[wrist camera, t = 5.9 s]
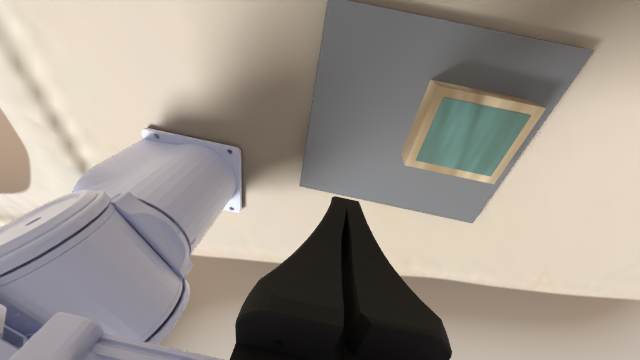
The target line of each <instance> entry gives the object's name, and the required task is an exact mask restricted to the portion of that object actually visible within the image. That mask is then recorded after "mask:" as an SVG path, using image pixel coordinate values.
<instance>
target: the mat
mask: <svg viewBox="0 0 640 360" xmlns="http://www.w3.org/2000/svg"><path fill="white" fill-rule="evenodd" d="M593 52H594V50H589V49H584V48H579V47H575V46H570V45H565V44H560V43H555V42H550V41H545V40H540V39H535V38H530V37H526V36H521V35H516V34H511V33H506V32H501V31H496V30H491V29H486V28H481V27H477V26H472V25H467V24H462V23H457V22H452V21H447V20H442V19H437V18H432V17H428V16H423V15H418V14H413V13H408V12H403V11H398V10H393V9H388V8H383V7H378V6H374V5H369V4H364V3H359V2H354V1H349V0H328V2H327V9H326V16H325V22H324V29H323V35H322V42H321V48H320V55H319V62H318V68H317V75H316V81H315V88H314V95H313V101H312V108H311V114H310V121H309V127H308V134H307V141H306V147H305V154H304V160H303V167H302V174H301V180H300V186H301V187H306V188H310V189H315V190H320V191H324V192H329V193H334V194H338V195H343V196H348V197H352V198H357V199H362V200H366V201H371V202H376V203H380V204H385V205H390V206H394V207H399V208H403V209H408V210H413V211H417V212H422V213H427V214H431V215H436V216H441V217H445V218H450V219H455V220H459V221H464V222H469V223H473V222H474V221H475V219H476V218H477V216H478V215H479V214H480V212H481V211H482V209H483V208H484V206H485V205H486V204H487V202H488V201H489V199H490V198H491V196H492V195H493V194H494V192H495V191H496V189H497V188H498V187H499V185H500V184H501V182H502V181H503V179H504V178H505V177H506V175H507V174H508V172H509V171H510V169H511V168H512V167H513V165H514V164H515V162H516V161H517V160H518V158H519V157H520V155H521V154H522V152H523V151H524V150H525V148H526V147H527V145H528V144H529V142H530V141H531V140H532V138H533V137H534V135H535V134H536V133H537V131H538V130H539V128H540V127H541V125H542V124H543V123H544V121H545V120H546V118H547V117H548V115H549V114H550V113H551V111H552V110H553V108H554V107H555V106H556V104H557V103H558V101H559V100H560V98H561V97H562V96H563V94H564V93H565V91H566V90H567V89H568V87H569V86H570V84H571V83H572V81H573V80H574V79H575V77H576V76H577V74H578V73H579V71H580V70H581V69H582V67H583V66H584V64H585V63H586V62H587V60H588V59H589V57H590V56H591V54H592V53H593ZM430 80H435V81H440V82H445V83H449V84H454V85H459V86H464V87H469V88H473V89H478V90H483V91H488V92H493V93H498V94H502V95H507V96H512V97H517V98H522V99H526V100H530V101H532V102H534V103H536V104H538V105H540V106H543V107H545V108H546V110H545V111H544V112H543V114H542V115H541V117H540V118H539V120H538V121H537V123H536V124H535V126H534V127H533V128H532V130H531V131H530V133H529V134H528V136H527V137H526V139H525V140H524V142H523V143H522V144H521V146H520V147H519V149H518V150H517V152H516V153H515V155H514V156H513V158H512V159H511V160H510V162H509V163H508V165H507V166H506V168H505V169H504V171H503V172H502V174H501V175H500V176H499V178H498V179H497V181H496V182H495V184H490V183H486V182H481V181H476V180H471V179H467V178H462V177H457V176H453V175H448V174H443V173H438V172H434V171H429V170H424V169H420V168H415V167H410V166H406V165H405V164H404V161H403V158H402V155H401V153H402V150H403V148H404V145H405V143H406V140H407V138H408V135H409V133H410V130H411V128H412V125H413V123H414V120H415V117H416V115H417V112H418V110H419V107H420V105H421V102H422V100H423V97H424V95H425V92H426V90H427V87H428V85H429V82H430Z"/></svg>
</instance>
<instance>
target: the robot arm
mask: <svg viewBox="0 0 640 360" xmlns="http://www.w3.org/2000/svg"><path fill="white" fill-rule="evenodd" d="M157 134H158V135H159V136H158V135H157ZM142 136H143V139H142V140H141V141H139V142H137V143H135V144H133V145H132V146H130V147H128V148H126V149H124V150H122V151H121V152H119V153H117V154H115V155H113V156H112V157H110V158H108V159H106V160H104V161H103V162H101V163H99V164H97V165H95V166H94V167H92V168H91V169H89V170H88V171H87V172H86V173H85V174H84V175H83V176H82V177H81V178H80V179H79V181H78V182H77V184H76V185H75V187H74V189H73V191H72V193H70V194H68V195H65V196H62V197H60V198H58V199H55V200H53V201H51V202H49V203H46V204H44V205H42V206H40V207H38V208H36V209H34V210H32V211H30V212H28V213H26V214H24V215H22V216H20V217H19V218H17V219H15V220H13V221H11V222H9V223H8V224H6V225H4V226H2V227H1V228H0V360H223V359H218V358H214V357H210V356H205V355H201V354H196V353H192V352H188V351H183V350H178V349H174V348H170V347H166V346H161V345H158V344H159V343H160V342H161V341H162V340H163V339H164V338H165V337H166V336H167V335H168V334H169V333H170V332H171V330H172V329H173V328H174V326H175V325H176V324H177V322H178V321H179V319H180V317H181V315H182V314H183V312H184V310H185V308H186V305H187V303H188V300H189V296H190V287H189V284H188V282H187V281H186V280H185V277H186V276H187V274H188V273H189V271H190V270H191V268H192V267H193V265H192V264H191V262H190V260H189V256H190V255H191V254H192V252H193V251H194V249H195V248H196V247H197V245H198V244H199V242H200V241H201V240H202V238H203V237H204V235H205V234H206V233H207V231H208V230H209V228H210V227H211V226H212V224H213V223H214V221H215V220H216V219H217V217H218V216H219V214H220V213H221V211H222V210H227V211H231V212H236V213H239V212H240V211H241V210H242V168H241V150H240V149H239V148H238V147H235V146H230V145H225V144H221V143H216V142H211V141H206V140H202V139H197V138H192V137H188V136H183V135H178V134H174V133H169V132H164V131H160V130H155V129H150V128H145V129H143V130H142ZM229 150H231V151H232V153H231V152H229ZM232 207H233V208H232ZM235 327H236V344H235V348H234V350H233V353H232V355H231V358H230V360H449V359H450V358H451V355H452V350H451V347H450V343H449V340H448V337H447V334H446V331H445V328H444V326H443V323H442V320H441V319H440V318H439V317H438V316H437V315H436V314H435V313H434V312H433V311H432V310H431V309H430V308H428V306H426V305H425V304H424V303H423V302H422V301H421V300H420V299H419V298H418V297H417V295H416V294H415V293H414V292H413V291H412V290H411V289H410V288H409V287H408V286H407V284H406V283H405V282H404V281H403V280H402V278H401V277H400V276H399V275H398V273H397V272H396V271H395V270H394V268H393V267H392V266H391V264H390V263H389V261H388V260H387V258H386V257H385V255H384V254H383V252H382V251H381V249H380V247H379V245H378V244H377V242H376V240H375V238H374V236H373V234H372V232H371V230H370V228H369V226H368V224H367V222H366V219H365V217H364V214H363V212H362V209H361V206H360V203H359V202H358V201H354V200H349V199H345V198H340V197H333V198H332V200H331V204H330V206H329V209H328V211H327V212H326V214H325V216H324V217H323V219H322V221H321V222H320V224H319V225H318V226H317V228H316V229H315V230H314V232H313V233H312V234H311V235H310V237H309V238H308V239H307V240H306V241H305V242H304V243H303V244H302V245H301V246H300V247H299V248H298V249H297V250H296V251H295V252H294V253H293V254H292V255H291V256H290V257H289V258H288V259H286V260H285V261H284V262H283V263H282V264H280V265H279V266H278V267H277V268H275V269H274V270H272V271H271V272H270V273H268V274H267V275H266V276H264V277H263V278H261V279H260V280H259V281H258V282H257V284H256V285H255V286H254V288H253V289H252V291H251V292H250V293H249V295H248V297H247V298H246V300H245V302H244V304H243V306H242V308H241V310H240V313H239V315H238V318H237V320H236V326H235Z"/></svg>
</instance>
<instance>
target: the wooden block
mask: <svg viewBox="0 0 640 360" xmlns="http://www.w3.org/2000/svg"><path fill="white" fill-rule="evenodd" d="M545 110H546V108H545V107H543V106H540V105H538V104H536V103H534V102H532V101H530V100H526V99H522V98H517V97H512V96H507V95H502V94H498V93H493V92H488V91H483V90H478V89H473V88H469V87H464V86H459V85H454V84H449V83H445V82H440V81H435V80H430V82H429V85H428V87H427V90H426V92H425V95H424V97H423V100H422V102H421V105H420V107H419V110H418V112H417V115H416V117H415V120H414V123H413V125H412V128H411V130H410V133H409V135H408V138H407V140H406V143H405V145H404V148H403V150H402V153H401V155H402V158H403V161H404V164H405V165H406V166H410V167H415V168H420V169H424V170H429V171H434V172H438V173H443V174H448V175H453V176H457V177H462V178H467V179H471V180H476V181H481V182H486V183H490V184H495V182H496V181H497V179H498V178H499V176H500V175H501V174H502V172H503V171H504V169H505V168H506V166H507V165H508V163H509V162H510V160H511V159H512V158H513V156H514V155H515V153H516V152H517V150H518V149H519V147H520V146H521V144H522V143H523V142H524V140H525V139H526V137H527V136H528V134H529V133H530V131H531V130H532V128H533V127H534V126H535V124H536V123H537V121H538V120H539V118H540V117H541V115H542V114H543V112H544V111H545Z"/></svg>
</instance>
